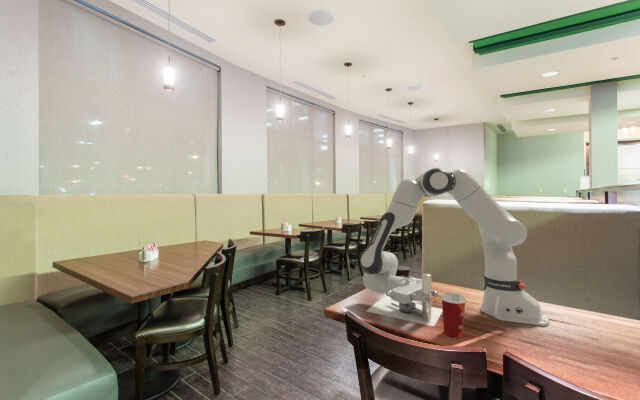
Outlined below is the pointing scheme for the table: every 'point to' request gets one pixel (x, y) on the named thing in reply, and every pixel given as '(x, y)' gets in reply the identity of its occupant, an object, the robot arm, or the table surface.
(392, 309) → the board
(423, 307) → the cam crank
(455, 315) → the paper cup
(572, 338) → the table surface
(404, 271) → the coffee mug
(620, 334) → the table surface
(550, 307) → the table surface
